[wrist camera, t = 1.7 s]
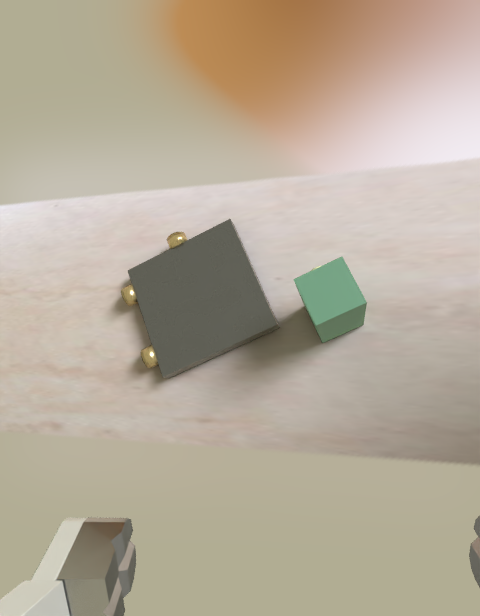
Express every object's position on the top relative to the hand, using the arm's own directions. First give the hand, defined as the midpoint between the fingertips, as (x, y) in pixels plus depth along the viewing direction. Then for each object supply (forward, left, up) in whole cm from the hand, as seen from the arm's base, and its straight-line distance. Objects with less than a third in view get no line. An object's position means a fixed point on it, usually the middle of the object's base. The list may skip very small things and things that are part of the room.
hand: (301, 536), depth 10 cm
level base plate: (+6, -18, -27) cm, 33 cm away
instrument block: (-5, -11, -27) cm, 30 cm away
